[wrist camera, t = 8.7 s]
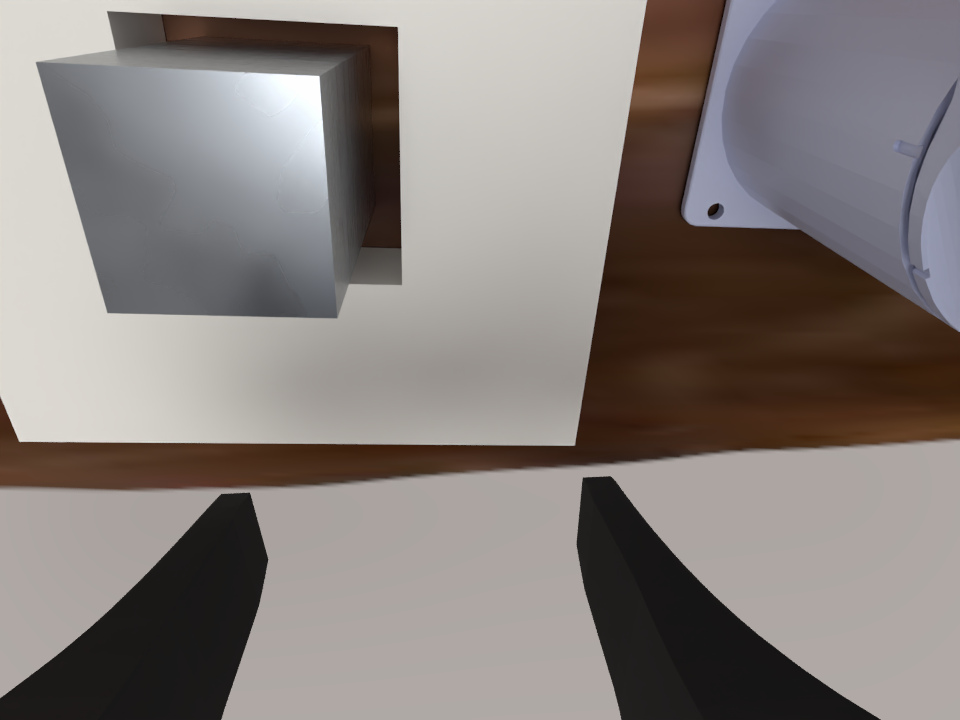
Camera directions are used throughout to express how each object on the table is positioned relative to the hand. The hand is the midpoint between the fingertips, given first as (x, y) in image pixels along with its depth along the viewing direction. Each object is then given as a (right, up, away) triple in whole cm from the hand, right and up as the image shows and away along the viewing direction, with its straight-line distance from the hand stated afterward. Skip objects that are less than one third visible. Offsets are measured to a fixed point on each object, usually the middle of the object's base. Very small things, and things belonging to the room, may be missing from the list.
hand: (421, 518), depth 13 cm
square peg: (-4, +10, +5) cm, 12 cm away
